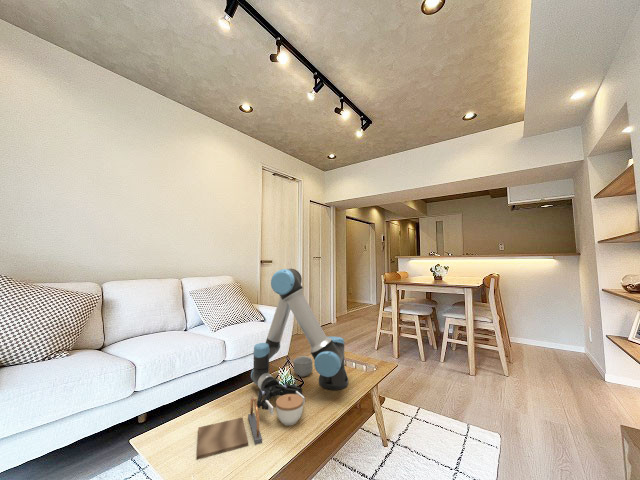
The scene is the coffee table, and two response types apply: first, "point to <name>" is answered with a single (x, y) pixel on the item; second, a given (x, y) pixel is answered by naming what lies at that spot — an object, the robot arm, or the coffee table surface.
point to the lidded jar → (289, 408)
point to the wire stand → (254, 428)
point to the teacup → (302, 366)
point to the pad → (221, 437)
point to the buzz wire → (256, 413)
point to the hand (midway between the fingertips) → (288, 406)
